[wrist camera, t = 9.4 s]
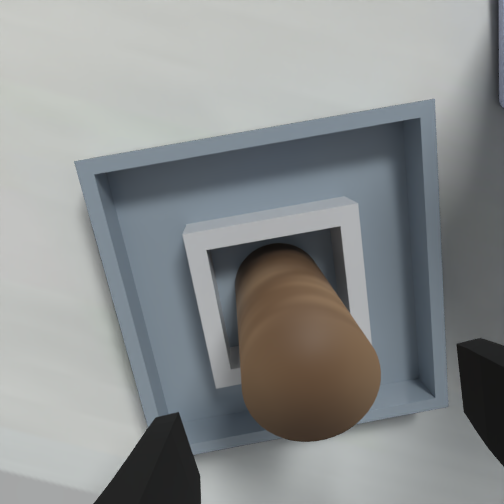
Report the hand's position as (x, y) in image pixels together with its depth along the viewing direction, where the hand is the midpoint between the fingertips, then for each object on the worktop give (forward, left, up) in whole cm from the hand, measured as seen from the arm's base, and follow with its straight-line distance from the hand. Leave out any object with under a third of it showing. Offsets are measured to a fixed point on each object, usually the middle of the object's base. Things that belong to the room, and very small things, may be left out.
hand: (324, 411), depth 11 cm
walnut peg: (0, 0, -9) cm, 9 cm away
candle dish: (0, 0, -10) cm, 10 cm away
